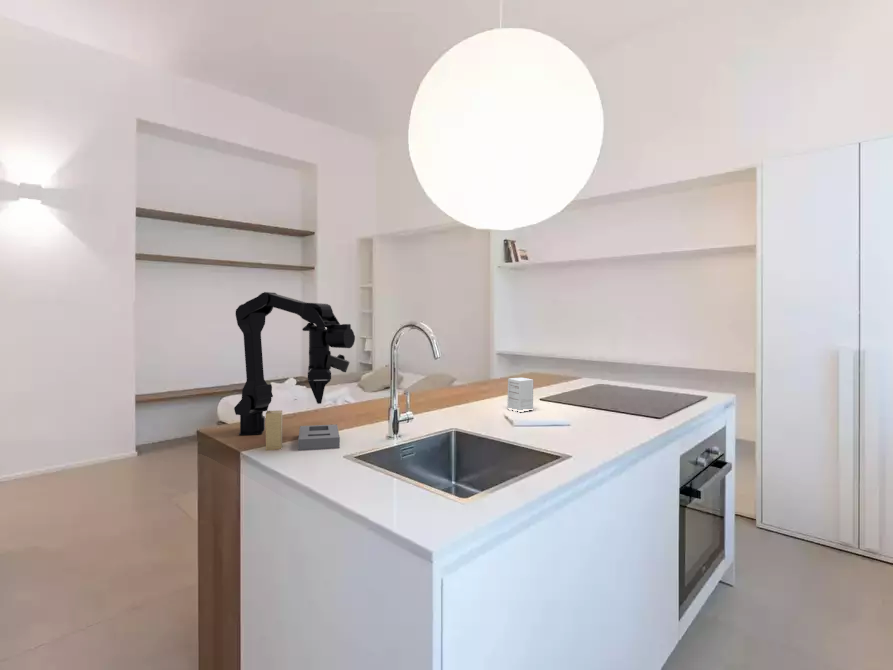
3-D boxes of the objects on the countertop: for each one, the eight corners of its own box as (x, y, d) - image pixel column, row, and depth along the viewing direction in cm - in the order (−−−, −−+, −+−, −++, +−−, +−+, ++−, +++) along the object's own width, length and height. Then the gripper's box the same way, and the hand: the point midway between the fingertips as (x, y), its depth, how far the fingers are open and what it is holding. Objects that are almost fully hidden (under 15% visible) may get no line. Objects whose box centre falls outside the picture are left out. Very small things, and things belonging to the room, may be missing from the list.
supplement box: (520, 408, 196) (521, 377, 196) (533, 411, 190) (534, 379, 189) (506, 409, 192) (507, 378, 192) (519, 413, 186) (519, 380, 185)
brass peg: (265, 450, 131) (265, 413, 131) (267, 446, 135) (267, 410, 135) (281, 449, 132) (281, 413, 132) (282, 445, 136) (282, 410, 136)
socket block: (298, 450, 132) (298, 439, 132) (299, 435, 147) (299, 426, 147) (339, 448, 135) (339, 437, 134) (337, 433, 150) (337, 424, 150)
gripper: (349, 349, 133) (349, 405, 133) (345, 344, 151) (345, 394, 151) (307, 349, 130) (307, 407, 130) (308, 344, 148) (308, 395, 148)
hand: (319, 400), depth 140 cm, fingers open, 9 cm apart
